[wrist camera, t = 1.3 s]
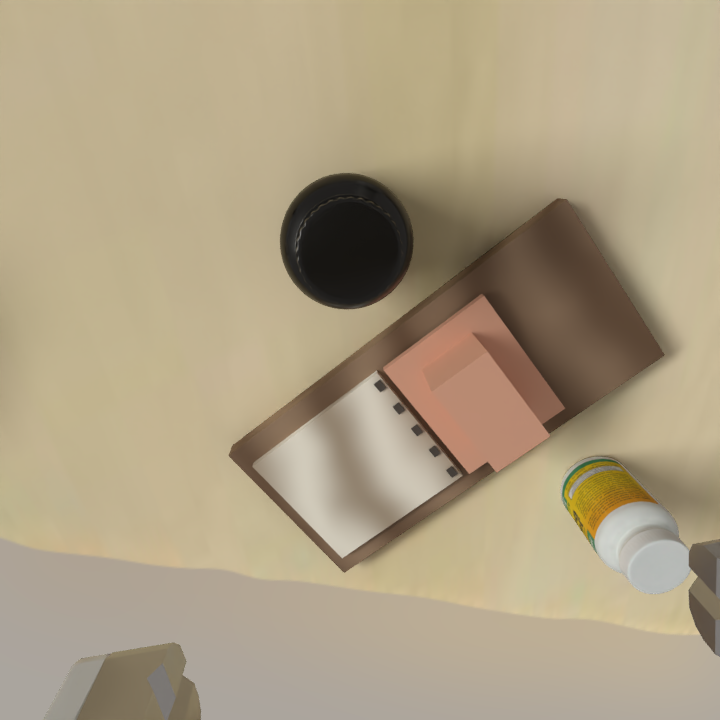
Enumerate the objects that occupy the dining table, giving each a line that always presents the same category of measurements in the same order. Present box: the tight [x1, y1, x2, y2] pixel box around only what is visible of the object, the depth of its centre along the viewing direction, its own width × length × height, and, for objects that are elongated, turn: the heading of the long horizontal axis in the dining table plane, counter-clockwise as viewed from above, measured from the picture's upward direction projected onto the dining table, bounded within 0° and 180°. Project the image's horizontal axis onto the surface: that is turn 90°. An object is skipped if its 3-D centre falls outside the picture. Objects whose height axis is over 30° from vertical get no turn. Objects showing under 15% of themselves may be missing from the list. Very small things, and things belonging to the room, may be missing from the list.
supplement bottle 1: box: [280, 173, 413, 309], centre depth 30 cm, size 7×7×12 cm
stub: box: [383, 294, 565, 474], centre depth 36 cm, size 8×10×5 cm
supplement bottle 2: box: [560, 457, 691, 594], centre depth 38 cm, size 5×5×10 cm
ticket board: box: [229, 199, 664, 572], centre depth 39 cm, size 28×13×2 cm, turn 128°
